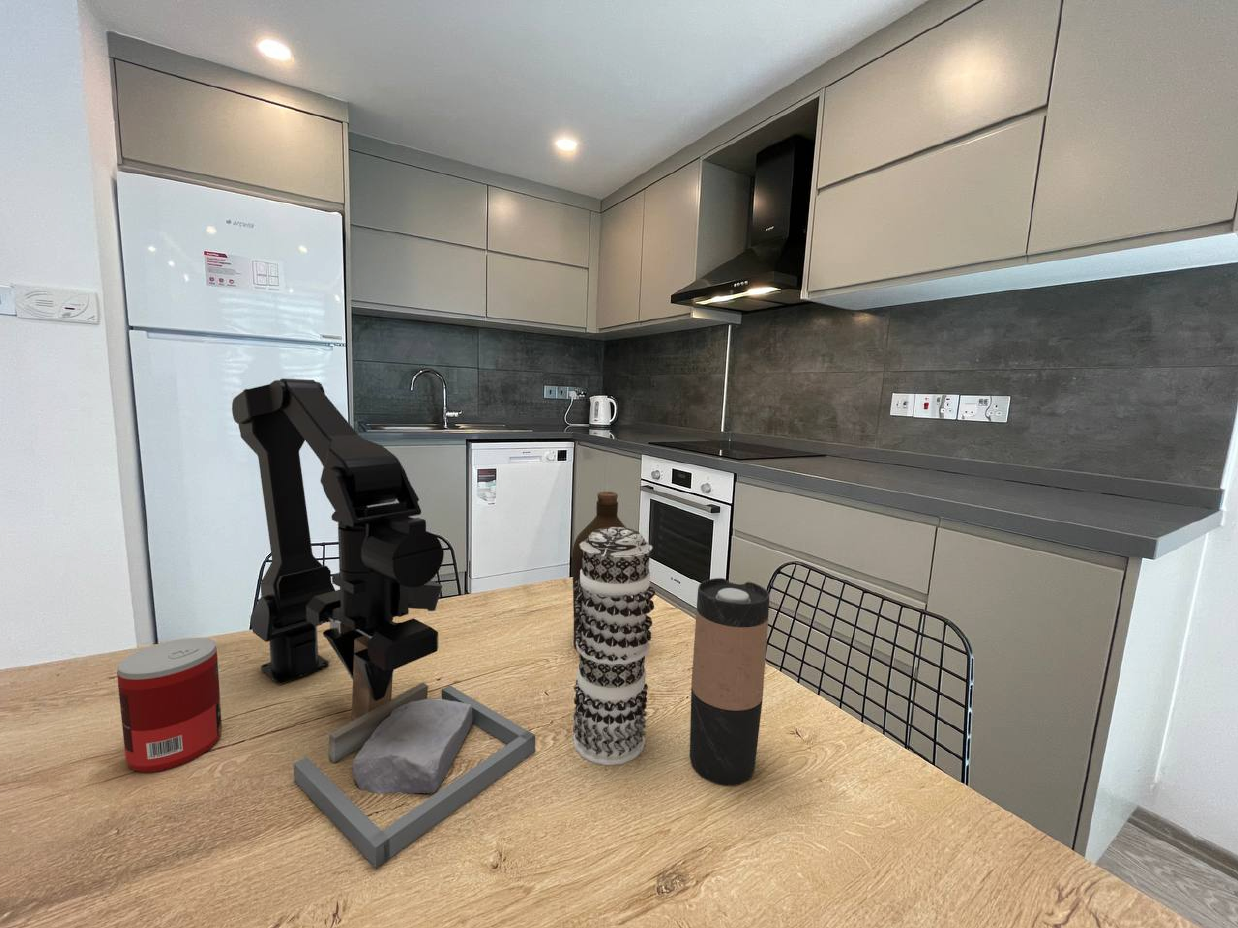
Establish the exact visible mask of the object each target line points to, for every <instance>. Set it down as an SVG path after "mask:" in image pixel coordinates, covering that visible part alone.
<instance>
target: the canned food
mask: <svg viewBox="0 0 1238 928" xmlns="http://www.w3.org/2000/svg"><path fill="white" fill-rule="evenodd" d="M217 651H218V650H217V645H216V642H215V640H212V639H210V638H206V637H187V638H186V637H185V638H180V639H172V640H169V641H164V642H160V643H157V644H153V645H150V646H148V647H145V648H142V649H140V650H138V651H135V652H133V653H132V654H130V655H128V656H126V657H124V659H122V660H121V661H120V662H119V663H118V665H117V686H118V699H119V705H120V709H119V710H120V717H121V725H122V727H121V728H122V735H123V736H122V738H123V747H124V754H125V755H124V756H125V757H124V758H125V761H126V763H127V764H128V766H129V767H130V768H131V769H132V770H133V771H136V772H139V773H140V772H142V773H153V772H160V771H165V770H169V769H173V768H175V767H178V766H179V767H180V766H181V765H184V764H187V763H188V762H191V761H192V760H194V759H196V758H198V757H200V756H202V755H203V754H204V753H206V752H207V751H209V750H210V749H211V748H212V747H214V745H216V743H217V742H218V741H219V739H220V736H221V732H222V728H223V727H222V710H221V709H222V708H221V695H220V694H221V692H220V679H219V678H220V677H219V661H218V652H217Z"/></svg>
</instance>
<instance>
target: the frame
mask: <svg viewBox="0 0 1238 928" xmlns="http://www.w3.org/2000/svg"><path fill="white" fill-rule="evenodd" d="M441 699H443V700H449V701H456V702H462V703H465V704H471V706H472V715H473V721H472V724H473V725H475V726H477V727H479V728H480V729H482V730H484V731H485V732H486V733H488V734H489V735H491V736H493V737H494V738H496V739H498V740H499V741H501V742H502V743H504V744H505V746H503V747H501V748H500V749H499V750H498V751H496V752H494V753H493V754H491V755H490V756H488V757H487V758H486V759H484V760H483V761H481V762H480V763H478V764H477V765H475V766H474V767H473V768H471V769H469V771H468V770H467V772H465V773H464V774H462V775H461V776H459V777H458V778H457V779H455V780H454V781H452V782H450V783H449V784H448V785H446V786H444V787H443V788H442V789H440V790H439V791H436V792H435V793H433V795H431V796H430V797H429V798H427V799H425V800H424V801H422V802H421V803H420V804H418V805H417V806H415V807H414V808H412V809H411V810H410V811H409V812H407V813H405V814H403V815H402V816H401V817H399V818H398V819H396V820H395V821H394V822H392V823H391V824H389V825H387V826H386V827H385V828H383V829H381V828H380V827H379V826H378V825H377V824H376V823H375V822H373V821H372V820H371V818H370V817H368V815H366V814H365V813H364V812H363V811H362V810H361V809H360V808H359V807H358V806H357V804H355V803H354V802H353V801H352V800H351V799H350V798H349V797H348V796H347V795H346V794H345V793H344V792H343V791H342V790H341V789H340V787H338V786H337V785H336V784H335V783H334V782H332V780H331V779H330V778H329V777H327V775H326V774H325V773H324V772H323V771H321V770H320V768H319V767H317V766H316V764H314V763H313V762H312V761H311V760H310V759H309V758H308V757H307V756H305V757H304V758H301V759H299V760H298V761H296V762H293V779H294V783H296V785H297V786H298V787H299V788H300V789H301V790H302V791H303V792H304V794H305V795H306V796H308V798H309V799H310V800H311V801H312V802H313V803H314V804H315V805H316V806H317V808H318V809H320V810H321V812H322V813H324V815H325V816H326V817H327V818H328V819H329V820H330V821H331V823H333V825H334V826H335V827H336V828H338V829H339V831H340V832H341V833H342V834H343V835H344V836H345V837H346V839H347V840H348V841H349V842H350V843H351V844H352V845H353V846H354V847H355V849H357V850H358V851H359V853H360V854H361V855H362V856H363V857H364V858H366V860H367V861H368V862H369V863H370V864H371V865H372V867H374V869H378V868H380V867H381V866H382V865H383V864H385V863H386V862H388V861H389V860H390V859H392V858H393V857H395V856H396V855H397V854H399V852H401V851H403V850H404V849H405V848H407V847H408V846H410V845H411V844H412V843H413V842H416V840H418V839H419V838H420V837H422V836H423V835H424V834H425V833H427V832H428V831H430V830H431V829H432V828H433V827H435V826H437V824H439V823H440V822H442V821H443V820H444V819H446V818H447V817H448V816H450V815H451V814H453V813H454V812H455V811H457V810H458V809H459V808H461V807H462V806H463V805H465V804H466V803H467V802H469V801H470V800H472V799H473V798H475V796H477V795H478V794H480V793H481V792H483V791H484V790H485V789H487V788H488V787H489V786H490V785H492V784H493V783H495V782H496V781H497V780H499V779H500V778H501V777H502V776H505V774H507V773H508V772H509V771H511V770H512V769H513V768H514V767H516V766H518V765H519V764H520V763H522V762H523V761H524V760H525V759H527V758H528V757H530V756H531V755H532V754H534V753H535V752H536V734H534V733H532V732H531V731H529V730H528V729H526V728H524V727H522V726H521V725H519V724H518V723H515V722H514V721H512V720H510V719H509V718H507V717H505V716H504V715H502V714H501V713H498V711H495V710H493V709H492V708H490V707H488V706H487V705H485V704H483V703H481V702H480V701H479V700H476V699H474V698H472V697H471V696H470V695H468V694H466V693H464V692H463V691H461V690H459V689H457V688H456V687H454V686H452V685H450V684H449V685H447V686H445V687H443V688H441Z"/></svg>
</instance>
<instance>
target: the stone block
mask: <svg viewBox="0 0 1238 928" xmlns="http://www.w3.org/2000/svg"><path fill="white" fill-rule="evenodd" d="M472 721H473V715H472V706H471V704H465V703H462V702H456V701H449V700H443V699H442V698H440V699H439V698H438V699H437V698H427V699H424V700H419V701H412V702H409V703H408V704H405V705H402V706H400V707H398V708H396V709H394V710H393V711H392V713H391V715H390V716H389V717H388V718H386V719H385V720H384V721H383V722H382V723H381V724H380V725H379V726H378V727H377V728H376V730H375V731H374V733H373V734H372V736H371V738H370V739H369V740H368V741H367V742H365V744H364V745H363V746H361V749H360V750H359V751H358V753H357V755H356V756H355V758H354V759H353V762H352V763H353V764H352V775H353V778H354V781H355V783H356V785H357V787H358V789H359V790H362V791H366V792H370V793H373V794H376V795H377V794H378V795H382V794H397V793H402V794H403V793H405V794H411V795H414V794H430V795H431V794H435V793H437V792H438V791H437V790H439V788H440V787H441V785H442V783H443V781H444V779H445V778H446V775H447V773H448V771H449V769H450V767H452V764H453V762H454V761H455V758H456V757H457V755H458V753H459V751H460V749H461V748H462V745H463V743H464V742H465V740H466V738H467V735H468V734H469V732H470V730H471V729H472V724H473V723H472Z"/></svg>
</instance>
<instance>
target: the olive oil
mask: <svg viewBox="0 0 1238 928" xmlns="http://www.w3.org/2000/svg"><path fill="white" fill-rule="evenodd" d="M596 496H597V501H596V502H595V503H596V506H595V507H596V516H595V517H594V518H593V519H592V521H590V522H589V524H587V526H586V527H585V528H583V529H582V530H581V532H580V533H579V534H577V536H576V538H575V541H574V542H573V547H572V550H571V563H572V564H571V565H572V567H571V568H572V596H573V597H572V600H573V602H572V605H573V606H572V609H573V611H572V612H573V619H574V618H575V617H576V615H575V614H576V611H575V605H576V604H575V600H576V599H577V597H576V594H575V593H574V587H575V582H576V581H577V580H579V578H580V570H581V569H582V565H583V562H582V555H583V549H581V547H580V545H579V544H580V543H581V542H582V541H584V540H587V538H588V536H589V535H590V534H591V533H592V532H593V531H594V530H597V529H600V528H606V527H622V528H627V527H626V526H625V525H624V523H623V522H622V521H621V519H620V518H619V517H618V511H619V502H618V496H619V494H618V493H617V492H613V491H601V492H600V491H599V492H598V493H597V495H596ZM580 592H582V588H581V590H580ZM581 605H582V603H581ZM580 622H582V619H580ZM576 626H577V624H576V623H575V622H574V621H573V646H574V648H575V650H577V647H576V640H575V636H576V629H577V627H576Z"/></svg>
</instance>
